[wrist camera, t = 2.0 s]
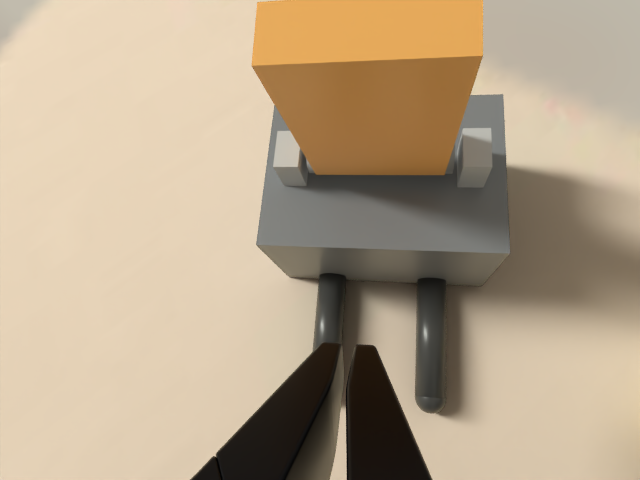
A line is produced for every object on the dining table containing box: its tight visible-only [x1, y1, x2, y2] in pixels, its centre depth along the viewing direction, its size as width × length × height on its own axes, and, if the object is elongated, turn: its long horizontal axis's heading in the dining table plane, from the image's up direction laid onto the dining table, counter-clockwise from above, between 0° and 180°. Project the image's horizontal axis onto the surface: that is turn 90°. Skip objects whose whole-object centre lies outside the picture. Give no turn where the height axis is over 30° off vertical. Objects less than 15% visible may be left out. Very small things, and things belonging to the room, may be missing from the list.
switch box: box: [256, 94, 510, 413], centre depth 20 cm, size 13×10×8 cm
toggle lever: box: [252, 0, 483, 175], centre depth 14 cm, size 2×6×9 cm, turn 85°
